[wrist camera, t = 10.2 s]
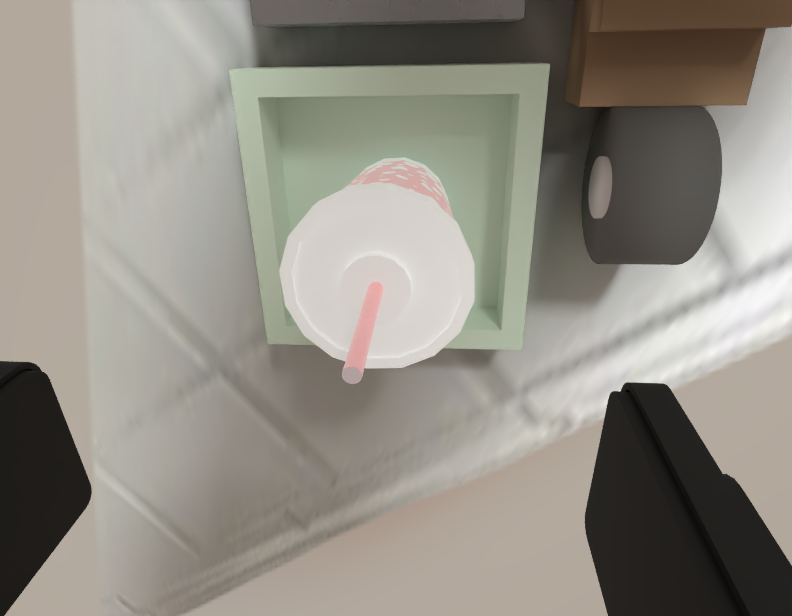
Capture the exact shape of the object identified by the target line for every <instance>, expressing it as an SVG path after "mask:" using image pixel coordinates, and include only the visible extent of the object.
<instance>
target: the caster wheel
mask: <svg viewBox="0 0 792 616" xmlns="http://www.w3.org/2000/svg"><path fill="white" fill-rule="evenodd" d="M721 175H722V155H721V145H720V138H719V134H718V130H717V127H716V125H715V122H714V120H713V118H712V116H711V115H710V114H709V113H708V111H706V110H705V109H704V108H702V107H700V106H637V107H609V108H607V109H606V110H605V111H604V112H603V113H602V115H601V116H600V118H599V120H598V122H597V124H596V126H595V129H594V131H593V134H592V137H591V141H590V144H589V148H588V153H587V158H586V163H585V169H584V177H583V187H582V226H583V234H584V240H585V244H586V248H587V251H588V253H589V256H590V257H591V259H592V260H593V261H594V262H595V263H598V264H667V265H678V264H683V263H685V262H687V261H688V260H689V259H691V258H692V257H693V256H694V255H695V254H696V252H697V251H698V250H699V248H700V247H701V245H702V244H703V242H704V240H705V238H706V236H707V234H708V232H709V230H710V227H711V224H712V221H713V219H714V215H715V212H716V208H717V203H718V199H719V193H720V186H721Z"/></svg>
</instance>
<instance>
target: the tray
mask: <svg viewBox="0 0 792 616" xmlns="http://www.w3.org/2000/svg"><path fill="white" fill-rule="evenodd" d="M549 71H550V64H548V63H540V62H519V63H463V64H408V65H352V66H296V67H251V68H240V69H229V76H230V83H231V90H232V97H233V104H234V111H235V118H236V125H237V132H238V139H239V146H240V153H241V160H242V167H243V174H244V181H245V188H246V195H247V203H248V210H249V217H250V224H251V231H252V238H253V245H254V252H255V259H256V266H257V273H258V280H259V287H260V294H261V301H262V308H263V315H264V322H265V329H266V337H267V344H286V345H316V344H314V343H313V342H312V341H310V340H309V339H308V338H306V337H305V336H304V335H303V333H302V332H301V330H300V329H299V327H298V325H297V324H296V322H295V321H294V319H293V317H292V316H291V314H290V313H289V311H288V309H287V308H286V306H285V302H284V296H283V291H282V285H281V279H280V273H279V269H280V265H281V262H282V258H283V254H284V250H285V246H286V242H287V238H288V236H289V234H290V233H291V232H292V231H293V230H294V228H295V227H296V226H297V225H298V224H299V222H300V221H301V220H302V219H303V218H304V216H305V215H306V214H307V213H308V211H309V210H310V209H311V208H312V207H313V205H315V204H316V203H317V202H318V201H320V200H322V199H324V198H326V197H328V196H330V195H332V194H334V193H336V192H338V191H340V190H342V189H344V188H345V187H346V186H347V185H348V184H349V183H351V182H352V181H353V180H354V179H355V178H356V177H357V176H358V175H359V174H360V173H361V172H363V171H364V170H365V169H366V168H367V167H369V166H371V165H373V164H375V163H377V162H379V161H381V160H383V159H387V158H408V159H410V160H413V161H416V162H419V163H421V164H424V165H425V166H426V167H427V168H428V169H429V170H431V171H432V172H433V173H434V174H435V175H436V176H437V177H438V178H439V180H440V182H441V184H442V186H443V188H444V191H445V193H446V195H447V198H448V201H449V205H450V208H451V212H452V215H453V219H454V220H455V221H456V222H457V223H458V225H459V228H460V230H461V232H462V234H463V236H464V239H465V241H466V243H467V245H468V247H469V250H470V252H471V254H472V258H473V260H474V264H475V301H474V303H473V305H472V307H471V310H470V312H469V314H468V316H467V318H466V321H465V323H464V325H463V327H462V329H461V332H460V333H459V334H458V335H457V336H456V337H455V338H453V339H452V340H451V341H450V342H449V343H448V344H447V345H446V346H445V347H443V348H454V349H496V350H522V345H523V334H524V324H525V314H526V304H527V294H528V284H529V274H530V264H531V253H532V243H533V233H534V223H535V213H536V203H537V193H538V183H539V172H540V162H541V152H542V142H543V132H544V122H545V112H546V101H547V91H548V81H549Z"/></svg>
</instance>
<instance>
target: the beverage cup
mask: <svg viewBox="0 0 792 616" xmlns="http://www.w3.org/2000/svg"><path fill="white" fill-rule="evenodd" d="M279 273H280V279H281V285H282V291H283V296H284V302H285V306H286V308H287V309H288V311H289V313H290V314H291V316H292V317H293V319H294V321H295V322H296V324H297V325H298V327H299V329H300V330H301V332H302V333H303V335H304V336H305V337H306V338H308V339H309V340H310V341H312V342H313V343H314V344H316V345H317V346H318V347H319V348H321V349H322V350H323V351H325V352H326V353H327V354H329V355H330V356H331V357H333V358H336V359H339V360H342V361H345V364H344V367H343V371H342V378H343V380H344V381H345V382H347V383H349V384H356V383H359V382H360V381H361V379H362V376H363V372H364V368H403V367H406V366H408V365H411V364H414V363H416V362H419V361H422V360H424V359H427V358H430V357H432V356H435V355H436V354H437V353H438V352H439V351H440V350H441V349H442V348H443V347H445V346H446V345H447V344H448V343H449V342H450V341H451V340H452V339H453V338H455V337H456V336H457V335H458V334H459V333H460V332H461V329H462V327H463V325H464V323H465V321H466V318H467V316H468V314H469V312H470V310H471V307H472V305H473V303H474V301H475V264H474V260H473V258H472V254H471V252H470V250H469V247H468V245H467V243H466V241H465V239H464V236H463V234H462V232H461V230H460V228H459V225H458V223H457V222H456V221H455V220H454V219H453V215H452V212H451V208H450V205H449V201H448V198H447V195H446V193H445V191H444V188H443V186H442V184H441V182H440V180H439V178H438V177H437V176H436V175H435V174H434V173H433V172H432V171H431V170H429V169H428V168H427V167H426V166H425V165H424V164H421V163H419V162H416V161H413V160H410V159H408V158H387V159H383V160H381V161H379V162H377V163H375V164H373V165H371V166H369V167H367V168H366V169H365V170H364V171H363V172H361V173H360V174H359V175H358V176H357V177H356V178H355V179H354V180H353V181H352V182H351V183H349V184H348V185H347V186H346V187H345V188H344V189H342V190H340V191H338V192H336V193H334V194H332V195H330V196H328V197H326V198H324V199H322V200H320V201H318V202H317V203H316V204H315V205H313V207H312V208H311V209H310V210H309V211H308V213H307V214H306V215H305V216H304V218H303V219H302V220H301V221H300V222H299V224H298V225H297V226H296V227H295V228H294V230H293V231H292V232H291V233H290V234H289V236H288V238H287V242H286V246H285V250H284V254H283V258H282V262H281V265H280V269H279Z"/></svg>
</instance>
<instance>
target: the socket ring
mask: <svg viewBox="0 0 792 616" xmlns="http://www.w3.org/2000/svg"><path fill="white" fill-rule="evenodd" d="M250 3H251V11H252V19H253V25H258V26H266V27H310V26H352V25H393V24H435V23H477V22H516V21H518V20H521V19H523V18H524V11H525V0H250Z"/></svg>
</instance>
